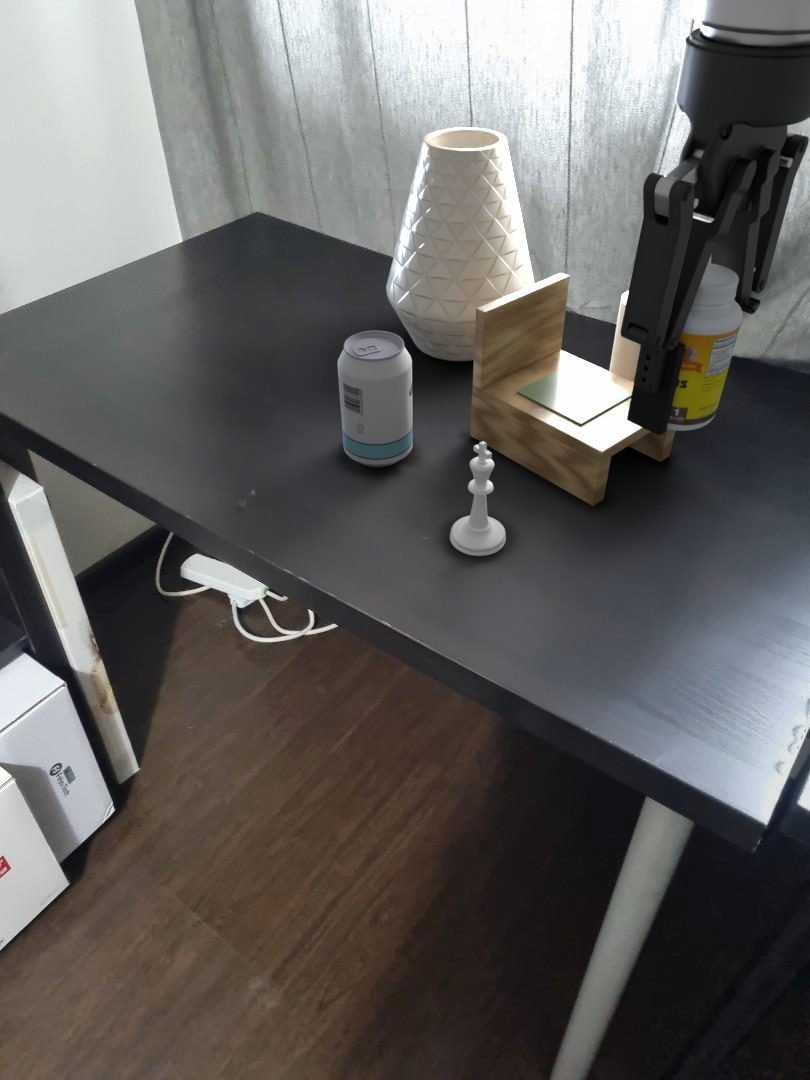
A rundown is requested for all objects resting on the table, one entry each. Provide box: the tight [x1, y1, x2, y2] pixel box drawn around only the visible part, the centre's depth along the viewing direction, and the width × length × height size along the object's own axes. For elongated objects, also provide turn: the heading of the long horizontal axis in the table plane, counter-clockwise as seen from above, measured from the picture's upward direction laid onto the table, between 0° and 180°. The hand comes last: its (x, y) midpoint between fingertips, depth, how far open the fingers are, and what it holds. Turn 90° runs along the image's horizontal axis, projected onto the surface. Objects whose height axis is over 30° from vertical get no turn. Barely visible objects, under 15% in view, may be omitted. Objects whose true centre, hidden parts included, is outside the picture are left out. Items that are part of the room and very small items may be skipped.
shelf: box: [470, 272, 677, 507], centre depth 79 cm, size 16×12×14 cm
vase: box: [385, 126, 536, 362], centre depth 94 cm, size 17×17×23 cm
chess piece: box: [449, 441, 507, 557], centre depth 70 cm, size 5×5×10 cm
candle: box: [608, 289, 641, 382], centre depth 87 cm, size 6×6×15 cm
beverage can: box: [337, 330, 414, 468], centre depth 79 cm, size 7×7×12 cm
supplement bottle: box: [667, 262, 744, 432], centre depth 55 cm, size 6×6×10 cm
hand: (672, 408), depth 59 cm, fingers closed on supplement bottle, 6 cm apart
